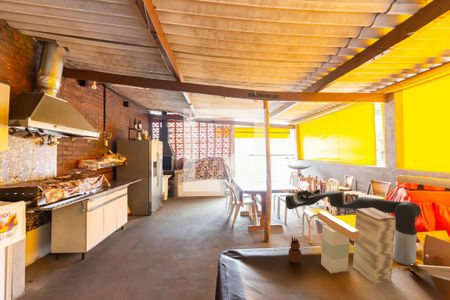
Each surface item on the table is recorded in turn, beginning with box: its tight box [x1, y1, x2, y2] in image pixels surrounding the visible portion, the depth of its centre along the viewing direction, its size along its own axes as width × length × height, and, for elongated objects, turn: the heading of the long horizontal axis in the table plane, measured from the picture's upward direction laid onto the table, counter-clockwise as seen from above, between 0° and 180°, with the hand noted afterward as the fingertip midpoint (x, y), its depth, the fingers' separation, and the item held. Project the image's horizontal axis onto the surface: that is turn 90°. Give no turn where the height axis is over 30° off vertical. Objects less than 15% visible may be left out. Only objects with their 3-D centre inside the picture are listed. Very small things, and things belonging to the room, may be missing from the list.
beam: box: [317, 210, 359, 241], centre depth 116 cm, size 4×26×4 cm, turn 12°
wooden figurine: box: [288, 236, 302, 264], centre depth 123 cm, size 7×6×15 cm
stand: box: [352, 208, 396, 284], centre depth 112 cm, size 10×13×32 cm
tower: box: [320, 224, 350, 274], centre depth 117 cm, size 10×8×22 cm
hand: (313, 191), depth 138 cm, fingers open, 8 cm apart
